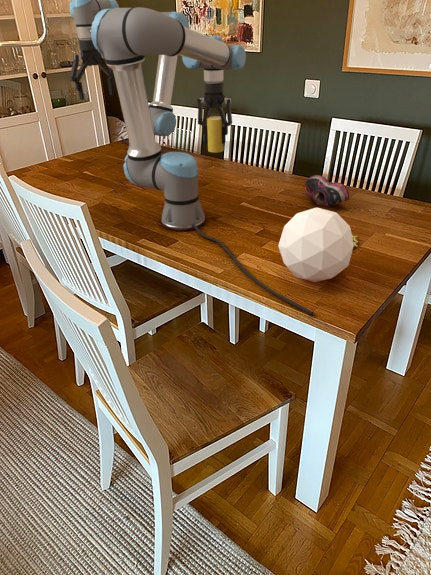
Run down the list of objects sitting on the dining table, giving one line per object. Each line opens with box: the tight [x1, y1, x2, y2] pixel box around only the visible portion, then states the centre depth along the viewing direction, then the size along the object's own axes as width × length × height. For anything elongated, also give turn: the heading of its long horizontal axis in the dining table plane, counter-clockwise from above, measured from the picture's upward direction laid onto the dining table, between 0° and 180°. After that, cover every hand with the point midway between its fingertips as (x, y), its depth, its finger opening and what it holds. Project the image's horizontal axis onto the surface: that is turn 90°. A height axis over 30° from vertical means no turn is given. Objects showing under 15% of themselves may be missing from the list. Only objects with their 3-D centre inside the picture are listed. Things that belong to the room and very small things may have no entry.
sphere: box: [277, 207, 355, 283], centre depth 118 cm, size 19×20×20 cm
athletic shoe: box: [302, 174, 350, 208], centre depth 165 cm, size 11×22×12 cm
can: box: [206, 115, 225, 154], centre depth 181 cm, size 6×6×13 cm
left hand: (97, 97), depth 185 cm, fingers open, 13 cm apart
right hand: (215, 142), depth 183 cm, fingers closed on can, 6 cm apart
